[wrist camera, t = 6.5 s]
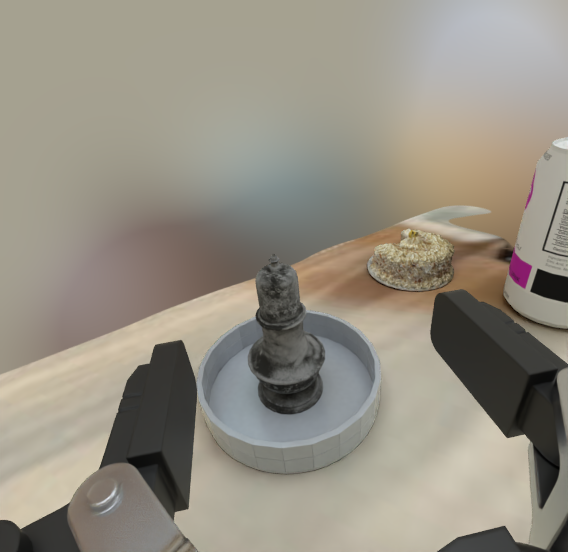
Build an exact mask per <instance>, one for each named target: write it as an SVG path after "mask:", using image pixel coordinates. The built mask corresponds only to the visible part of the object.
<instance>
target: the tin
mask: <svg viewBox="0 0 568 552" xmlns="http://www.w3.org/2000/svg"><path fill="white" fill-rule="evenodd" d="M303 328H304V331H306V332H309V333H311V334H313V335H314V336H316V337H317V338H318V339H319V340H320V341H321V342H322V344H323V346H324V349H325V360H324V363H323V365H322V367H321V369H320V371H319V374H320V376H321V378H322V381H323V392H322V395H321V397H320V399H319V400H318V401H317V403H316V404H315V405H314V406H312V407H311V408H310V409H308V410H306V411H303V412H301V413H297V414H291V415H290V414H280V413H276V412H273V411H271V410H270V409H268V408H266V407H265V405H264V404H263V403H262V402H261V400H260V398H259V396H258V384H259V380H258V379H257V377H256V376H255V375H254V374H253V373H252V372H251V370H250V368H249V366H248V354H249V351H250V349H251V347H252V346H253V344H254V343H255V342H256V341H257V340H258V339H260V338H261V337H262V336H263V331H262V326H260V325H259V324H258V322H257V321H256V317H254V318H251V319H249V320H247V321H244V322H242V323H240V324H238V325H236V326H235V327H233V328H232V329H230V330H229V331H228V332H226V333H225V334H223V335H222V336H221V337H220V338H219V339H218V340H217V341H216V342H215V343H214V344H213V345H212V347H211V348H210V349H209V350H208V352H207V353H206V355H205V357H204V359H203V361H202V363H201V365H200V368H199V373H198V378H197V383H196V385H197V391H198V397H199V403H200V406H201V409H202V412H203V415H204V418H205V421H206V424H207V426H208V428H209V430H210V432H211V434H212V436H213V438H214V439H215V440H216V442H217V444H218V445H219V446H220V447H221V448H222V449H223V450H224V451H225V452H226V453H227V454H228V455H230V456H231V457H232V458H234V459H235V460H237V461H239V462H241V463H242V464H244V465H246V466H249V467H251V468H254V469H257V470H261V471H265V472H270V473H281V474H292V473H303V472H308V471H313V470H316V469H319V468H322V467H325V466H328V465H330V464H332V463H334V462H336V461H338V460H340V459H341V458H343V457H344V456H346V455H347V454H349V453H350V452H351V451H352V450H354V449H355V448H356V447H357V446H358V445H359V444H360V443H361V442H362V440H363V439H364V438H365V437H366V435H367V434H368V432H369V431H370V429H371V427H372V425H373V423H374V421H375V418H376V415H377V411H378V407H379V403H380V387H381V371H380V360H379V358H378V356H377V353H376V351H375V349H374V346H373V344H372V343H371V342H370V341H369V340H368V339H367V337H366V336H365V335H364V334H363V333H362V332H361V331H360V330H359V329H357V328H356V327H354V326H353V325H351V324H350V323H348V322H347V321H345V320H343V319H340V318H338V317H335V316H333V315H330V314H326V313H321V312H316V311H311V310H306V317H305V318H304V320H303Z"/></svg>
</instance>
